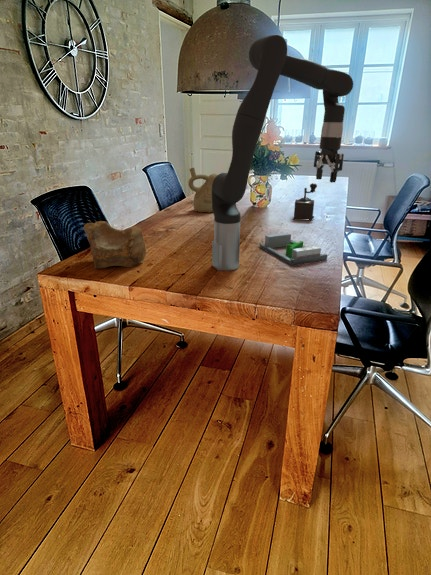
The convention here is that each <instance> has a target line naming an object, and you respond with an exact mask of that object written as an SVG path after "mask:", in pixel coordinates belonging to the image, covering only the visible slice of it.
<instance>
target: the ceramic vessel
mask: <svg viewBox="0 0 431 575" xmlns="http://www.w3.org/2000/svg"><path fill="white" fill-rule="evenodd" d="M195 168H196V167H191V168H189V172H190V175H191V177H190V178H189V179H188V182H187V183H188V187H189V189H190V190H191V191H193V192H195V193H194V196H193V200H192V202H193V206H192V207H193V209H194V211H195V212H197V211H198V212H197V213H202V212H208V213H213V210H212V184H213V181H214V179H215V177H216V176H217V175H218V174H217V173H211V174H209V175H206V174H196V169H195ZM196 180H204V181H205V182H204V183H203V184H202V185H200V186H198V187H197V186H195V185H194V181H196Z"/></svg>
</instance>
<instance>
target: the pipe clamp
mask: <svg viewBox="0 0 431 575" xmlns="http://www.w3.org/2000/svg"><path fill="white" fill-rule="evenodd" d="M303 246H304V241H302V240H301V241H297V243H296V241H295V242H291V245H288V244H287V246H285V247H286V248H285V249H286V250H285V256H287V257H288V258H290V259H292V249H297V248H303Z"/></svg>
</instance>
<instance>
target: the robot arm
mask: <svg viewBox="0 0 431 575" xmlns="http://www.w3.org/2000/svg"><path fill="white" fill-rule="evenodd" d="M248 59H249V63H250V64H251V66H252V67H253V68H254V69H255V70H257V72H256V75H255V79H254V81H253V84H252V85H251V87H250V88H249V91H248V92H247V94H246V95H245V97H244V98H243V100H242V101H241V103H240V105H239V107H238V110H237V112H236V115H235V118H234V122H233V126H232V130H231V131H232V132H231V142H232V143H231V144H232V154H231V155H232V156H231V160H230V163H229V167H228V170H227V172H221V173H219V174H217V176H216V177H215V179H214V181H213V184H212V210H213V212H212V214H213V218H214V221H213V222H214V223H213V224H214V227H213V228H214V231H213V232H214V233H213V236H214V237H213V238H214V240H212V241H211V258H212V259H211V264H212V265H211V266H213V268H214V269H216V270H217V271H235V270H237V269H239V267H240V248H241V247H240V244H241V243H240V242H241V218H242V217H241V212H240V211H239V209H238V207H237V203H238V202H240V201H241V200H242V199H243V197H244V195H245V193H246V191H247V186H248V181H249V177H250V176H249V175H250V171H251V166H252V162H253V159H254V156H255V152H256V148H257V147H258V146H257V145H258V143H259V139H260V136H261V134H262V130H263V127H264V124H265V120H266V116H267V112H268V110H269V108H270V103H271V101H272V98H273V94H274V91H275V89H276V85H277V82H278V81H279V78H280V76H281V77H282V76H284V77H285V78H289V79H292V80H295V81H297V82H299V83H302V84H304V85H306V86H307V87H308V86H309V87H310V88H313V89H316V90H319V91H320V90H322V99H323V100H322V101H323V106H324V113H323V123H322V125H321V126H322V127H321V130H320V132H321V134H320V141H319V149H320V150H319V151H318V150H316V151H315V153H314V158H313V159H314V161H313V167H314V168H315V169H316V175H315V180H322V179H323V171H324V167H325V166H327V165H328V167H329V168H330V171H331V172H330V178H329V183H336V181H337V176H338V173H339V172H341V171H343V167H344V166H343V164H344V153H338V152H339V150H341V145H342V139H343V130H344V118H345V113H346V112H345V111H346V109H345V106H344V105H343V104H340V102H339V97H340V98H341V97H346V96H347V95H349V94H350V93H351V92H352V91H353V88H354V80H353V78H352V76H351V75H350V74H349V73H347V72H344V71H341V70H337V69H332V68H328V67H326V66H325V65H322V64H320V63H319V62H316V61H314V60H311V59H307V58H301V57H297V56H292V55H289V54H288V44H287V41H286V39H285V38H284V36H283V35H281V34H275V33H274V34H270V35H267V36H263V37H260V38H258V39H256V40H255V41H254V42H253V43H252V44H251V45H250V47H249V50H248Z"/></svg>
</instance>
